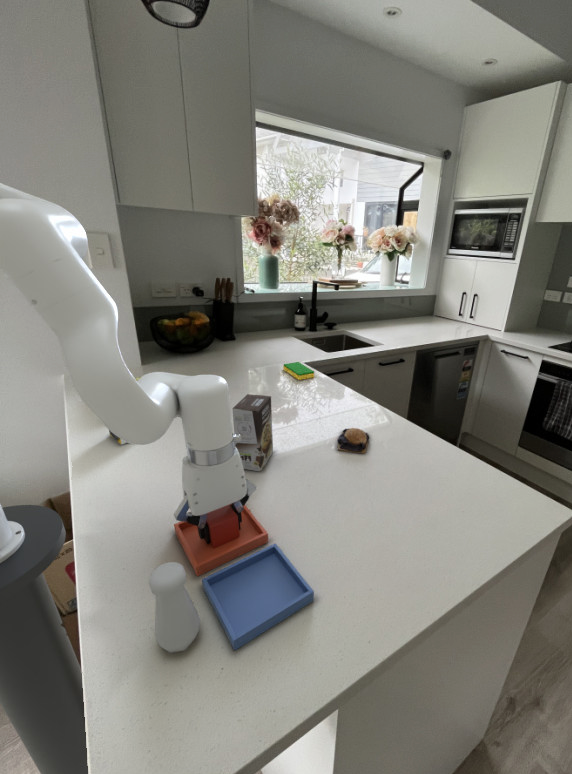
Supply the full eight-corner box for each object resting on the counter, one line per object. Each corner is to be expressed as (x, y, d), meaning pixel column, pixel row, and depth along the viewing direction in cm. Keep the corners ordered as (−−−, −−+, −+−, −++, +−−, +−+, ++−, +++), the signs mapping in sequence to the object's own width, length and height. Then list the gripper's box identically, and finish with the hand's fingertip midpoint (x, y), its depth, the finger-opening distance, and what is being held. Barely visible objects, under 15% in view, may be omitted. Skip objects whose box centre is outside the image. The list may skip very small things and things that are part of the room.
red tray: (197, 576, 62) (195, 567, 62) (175, 532, 71) (173, 524, 70) (268, 542, 70) (267, 533, 69) (240, 506, 79) (239, 498, 78)
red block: (213, 549, 67) (210, 527, 65) (203, 532, 71) (200, 511, 69) (239, 536, 70) (237, 515, 68) (229, 521, 73) (226, 501, 71)
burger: (341, 431, 110) (342, 420, 108) (370, 435, 108) (371, 424, 107) (334, 450, 100) (335, 438, 98) (366, 454, 99) (367, 442, 97)
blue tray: (234, 650, 52) (233, 641, 51) (203, 588, 60) (201, 579, 60) (313, 600, 59) (313, 591, 58) (275, 551, 68) (275, 542, 67)
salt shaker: (210, 630, 54) (200, 565, 49) (178, 667, 50) (163, 599, 44) (181, 612, 57) (169, 547, 51) (148, 645, 52) (130, 578, 47)
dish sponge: (298, 366, 159) (298, 361, 158) (314, 377, 149) (314, 371, 148) (283, 369, 156) (282, 363, 155) (298, 380, 145) (298, 374, 144)
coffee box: (261, 472, 90) (258, 411, 83) (236, 468, 91) (230, 408, 84) (274, 452, 98) (272, 395, 91) (250, 449, 99) (247, 392, 92)
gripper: (248, 426, 70) (254, 504, 78) (150, 454, 60) (167, 540, 68) (267, 443, 65) (271, 525, 72) (163, 477, 55) (180, 567, 63)
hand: (221, 531), depth 70 cm, fingers closed on red block, 5 cm apart
